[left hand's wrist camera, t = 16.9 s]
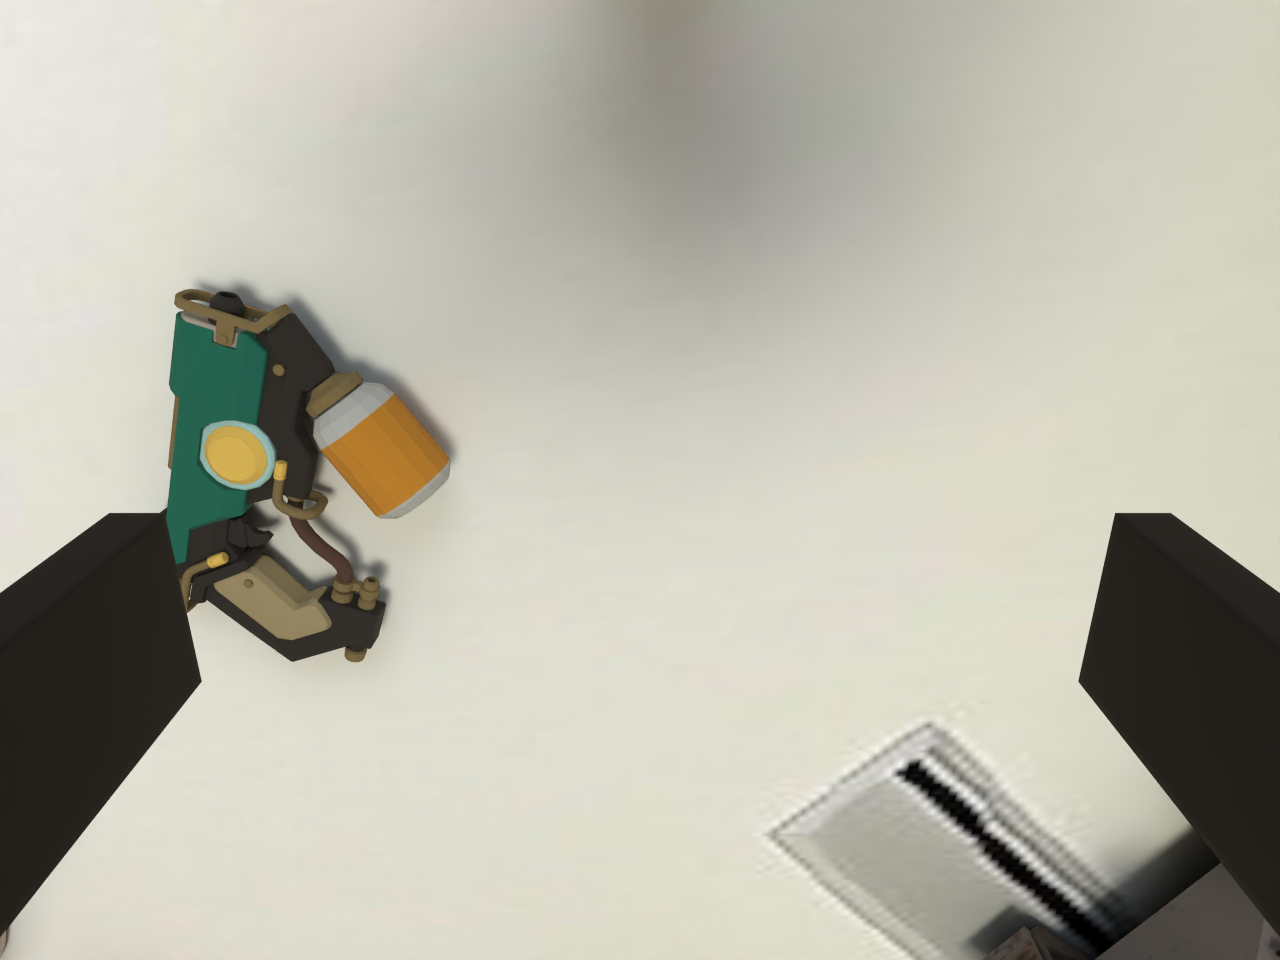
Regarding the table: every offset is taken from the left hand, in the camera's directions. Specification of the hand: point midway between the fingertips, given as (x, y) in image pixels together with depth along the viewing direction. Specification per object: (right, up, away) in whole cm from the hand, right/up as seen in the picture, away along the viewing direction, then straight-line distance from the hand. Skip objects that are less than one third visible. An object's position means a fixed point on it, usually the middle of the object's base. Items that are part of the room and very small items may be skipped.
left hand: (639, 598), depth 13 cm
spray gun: (-17, +2, +31) cm, 35 cm away
